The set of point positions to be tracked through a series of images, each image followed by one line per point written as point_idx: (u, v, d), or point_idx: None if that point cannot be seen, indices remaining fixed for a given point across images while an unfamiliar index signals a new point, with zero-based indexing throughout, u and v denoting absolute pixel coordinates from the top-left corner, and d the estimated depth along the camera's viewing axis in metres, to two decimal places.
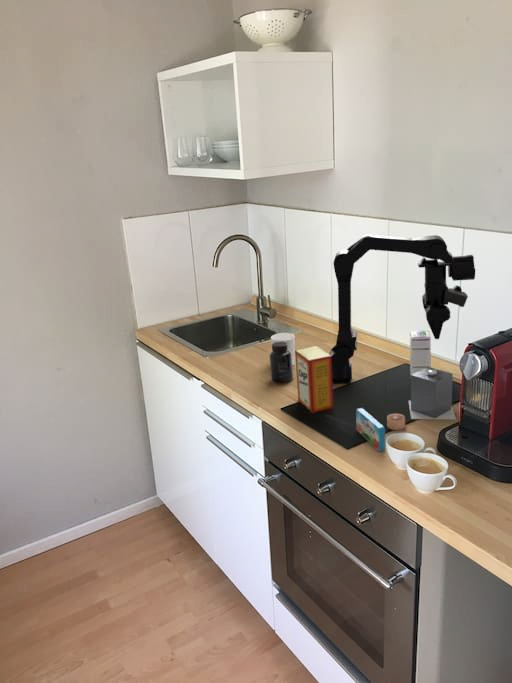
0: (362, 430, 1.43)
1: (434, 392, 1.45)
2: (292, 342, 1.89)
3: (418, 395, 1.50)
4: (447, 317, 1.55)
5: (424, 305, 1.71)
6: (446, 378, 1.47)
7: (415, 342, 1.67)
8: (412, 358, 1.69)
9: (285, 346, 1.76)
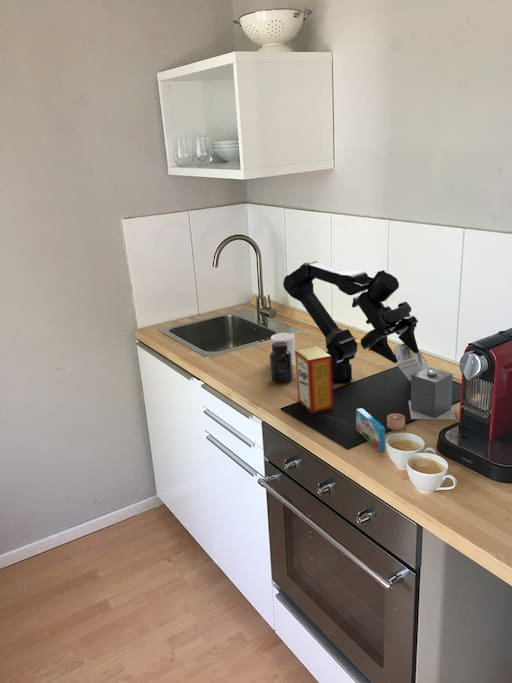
0: (362, 430, 1.43)
1: (434, 392, 1.45)
2: (292, 342, 1.89)
3: (418, 395, 1.50)
4: (373, 338, 1.50)
5: None
6: (446, 378, 1.47)
7: (402, 365, 1.61)
8: (404, 372, 1.65)
9: (285, 346, 1.76)
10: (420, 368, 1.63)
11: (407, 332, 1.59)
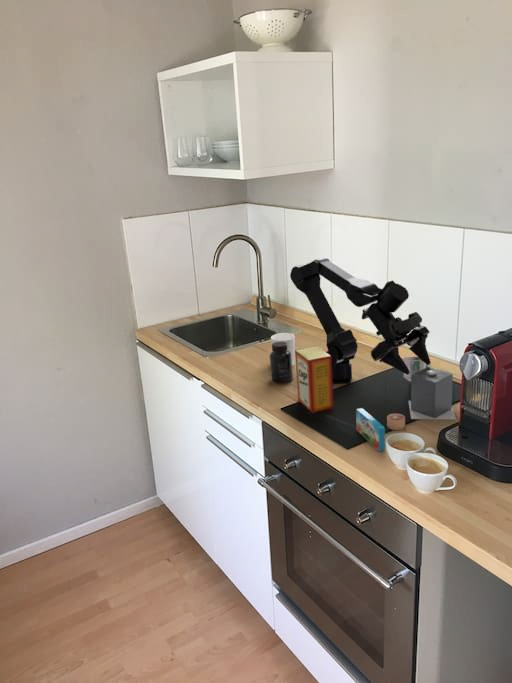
0: (362, 430, 1.43)
1: (434, 392, 1.45)
2: (292, 342, 1.89)
3: (418, 395, 1.50)
4: (383, 349, 1.47)
5: None
6: (446, 378, 1.47)
7: (409, 377, 1.59)
8: (408, 379, 1.64)
9: (285, 346, 1.76)
10: None
11: (418, 343, 1.56)
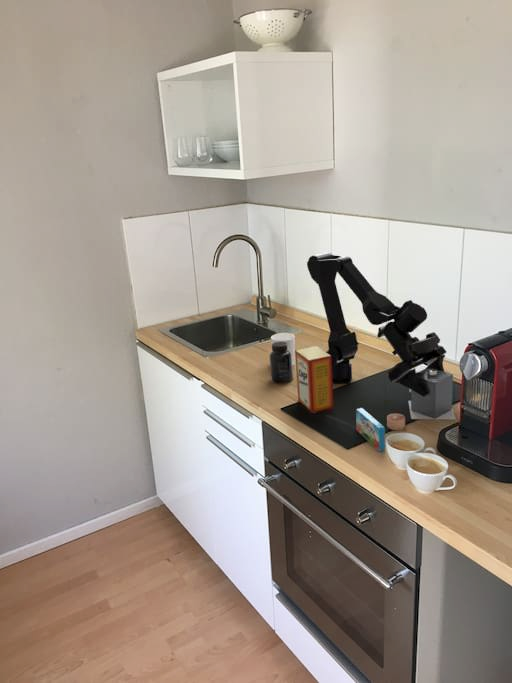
0: (362, 430, 1.43)
1: (434, 392, 1.45)
2: (292, 342, 1.89)
3: (418, 395, 1.49)
4: (401, 371, 1.45)
5: None
6: (446, 378, 1.47)
7: None
8: None
9: (285, 346, 1.76)
10: None
11: (435, 363, 1.53)
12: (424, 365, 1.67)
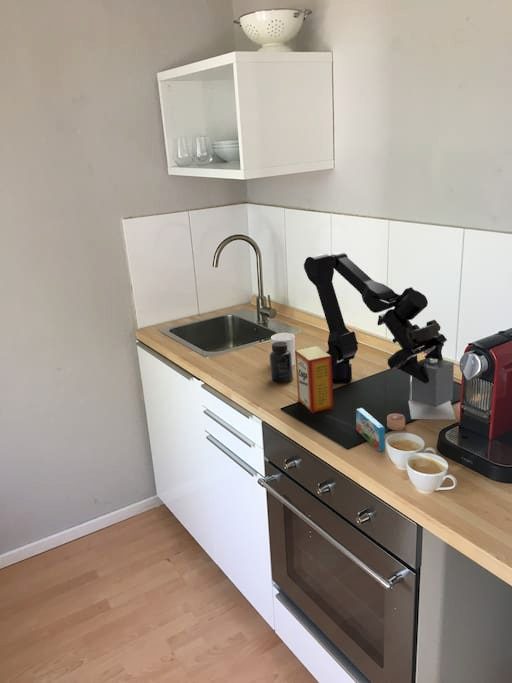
0: (362, 430, 1.43)
1: (435, 380, 1.44)
2: (292, 342, 1.89)
3: (419, 384, 1.48)
4: (401, 359, 1.43)
5: (427, 355, 1.55)
6: (447, 366, 1.46)
7: None
8: None
9: (285, 346, 1.76)
10: None
11: (434, 352, 1.52)
12: None
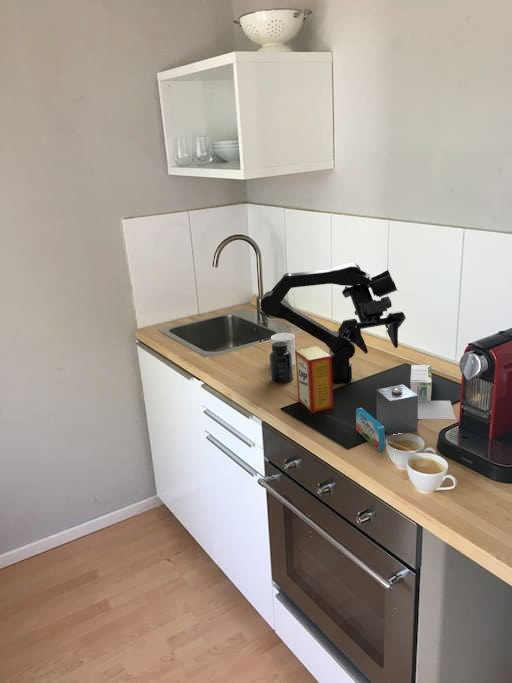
0: (362, 430, 1.43)
1: (389, 411, 1.39)
2: (292, 342, 1.89)
3: (380, 411, 1.44)
4: (344, 327, 1.60)
5: None
6: (407, 399, 1.39)
7: None
8: None
9: (285, 346, 1.76)
10: None
11: (391, 327, 1.64)
12: (425, 368, 1.66)
